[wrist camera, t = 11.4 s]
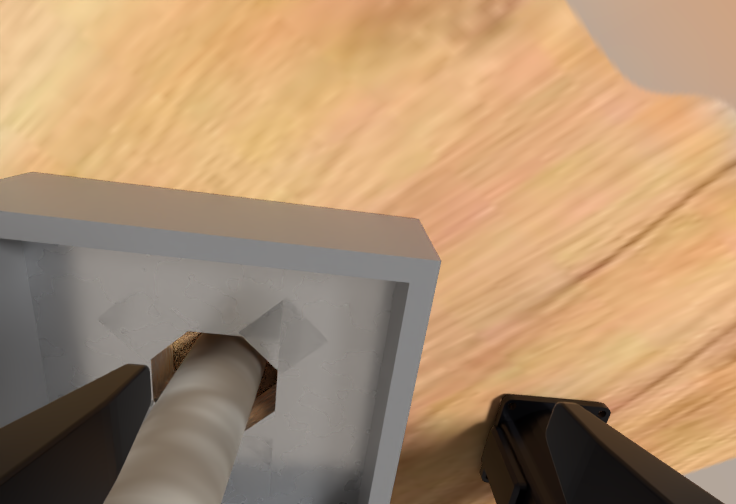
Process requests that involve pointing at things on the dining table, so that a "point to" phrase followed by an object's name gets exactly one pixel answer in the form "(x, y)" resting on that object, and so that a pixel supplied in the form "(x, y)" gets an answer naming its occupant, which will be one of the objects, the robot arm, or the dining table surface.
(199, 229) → the open box
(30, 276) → the bore plate
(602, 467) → the robot arm
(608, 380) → the dining table surface
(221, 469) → the peg
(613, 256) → the dining table surface
